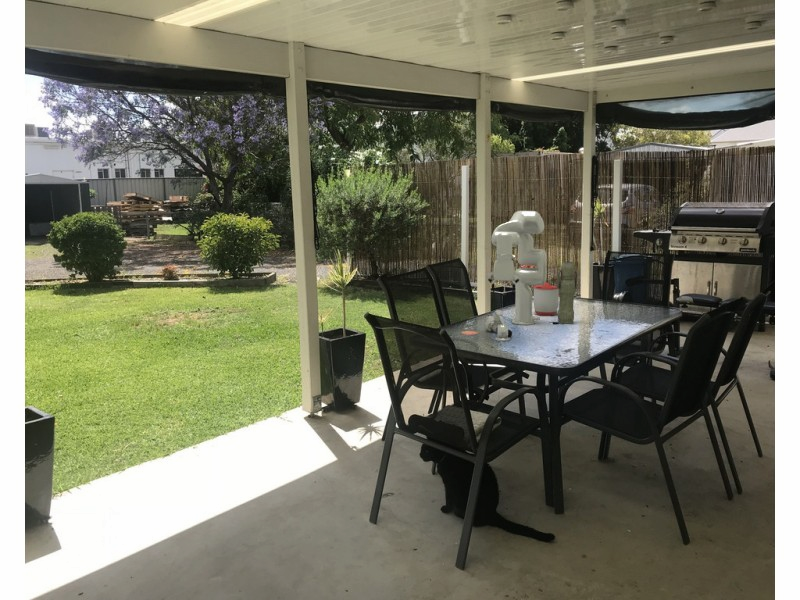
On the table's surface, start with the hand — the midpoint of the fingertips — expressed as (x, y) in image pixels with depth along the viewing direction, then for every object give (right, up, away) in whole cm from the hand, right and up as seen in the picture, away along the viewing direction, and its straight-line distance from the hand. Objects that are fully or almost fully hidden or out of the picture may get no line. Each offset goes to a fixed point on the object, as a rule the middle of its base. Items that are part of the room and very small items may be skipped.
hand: (503, 291), depth 322 cm
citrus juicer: (+38, -13, +72) cm, 82 cm away
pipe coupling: (0, -24, +4) cm, 25 cm away
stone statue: (+43, -18, +45) cm, 65 cm away
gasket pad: (-15, -22, +20) cm, 33 cm away
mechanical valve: (+2, -22, +18) cm, 29 cm away
